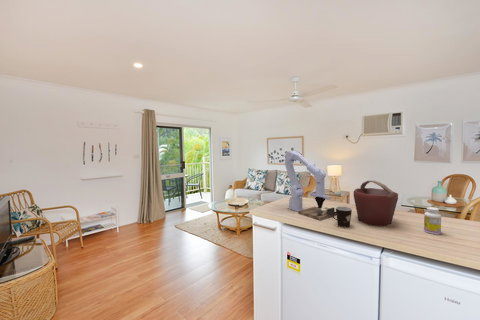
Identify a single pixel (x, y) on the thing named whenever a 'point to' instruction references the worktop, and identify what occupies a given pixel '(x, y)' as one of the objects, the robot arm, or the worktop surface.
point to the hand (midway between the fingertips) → (320, 207)
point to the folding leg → (325, 210)
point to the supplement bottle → (432, 221)
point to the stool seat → (317, 213)
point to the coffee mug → (343, 216)
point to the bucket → (375, 204)
